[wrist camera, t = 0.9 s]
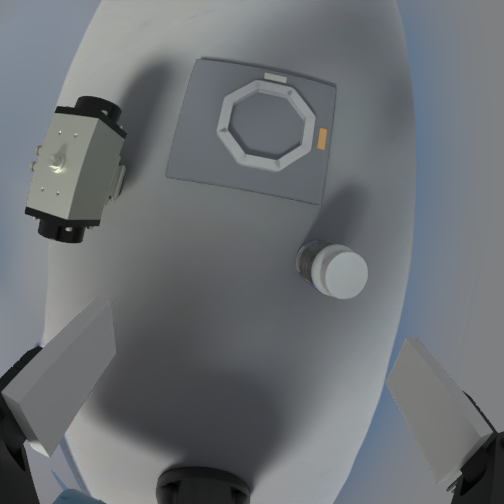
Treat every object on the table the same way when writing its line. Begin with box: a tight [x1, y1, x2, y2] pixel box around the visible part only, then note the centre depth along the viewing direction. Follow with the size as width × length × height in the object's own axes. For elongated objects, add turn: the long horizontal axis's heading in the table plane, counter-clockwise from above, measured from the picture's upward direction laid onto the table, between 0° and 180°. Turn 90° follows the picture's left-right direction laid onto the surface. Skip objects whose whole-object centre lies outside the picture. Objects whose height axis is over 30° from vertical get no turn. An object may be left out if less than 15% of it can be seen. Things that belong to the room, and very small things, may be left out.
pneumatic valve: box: [25, 96, 127, 243], centre depth 21 cm, size 6×12×12 cm, turn 163°
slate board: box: [165, 59, 336, 205], centre depth 27 cm, size 14×16×2 cm
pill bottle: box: [296, 240, 368, 299], centre depth 26 cm, size 5×5×8 cm
